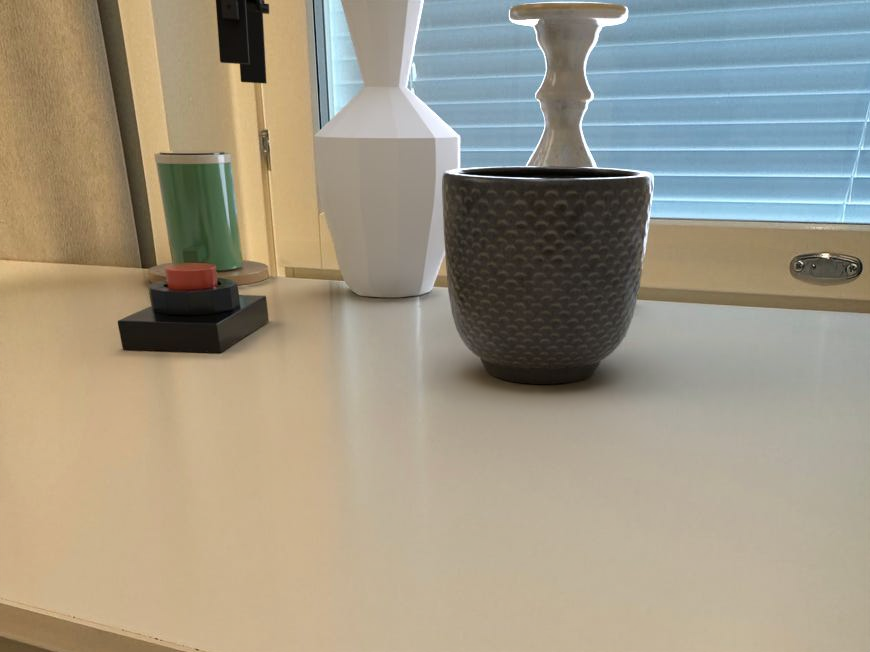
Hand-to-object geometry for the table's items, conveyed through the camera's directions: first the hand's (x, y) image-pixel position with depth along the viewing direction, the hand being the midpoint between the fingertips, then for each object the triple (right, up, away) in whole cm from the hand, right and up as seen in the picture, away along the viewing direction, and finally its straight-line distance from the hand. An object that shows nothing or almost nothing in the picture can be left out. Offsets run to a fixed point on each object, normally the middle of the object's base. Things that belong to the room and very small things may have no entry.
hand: (245, 73), depth 92 cm
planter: (+29, -39, -27) cm, 56 cm away
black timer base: (+1, -33, -18) cm, 38 cm away
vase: (+15, -22, +1) cm, 27 cm away
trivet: (-6, -18, +7) cm, 20 cm away
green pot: (-6, -18, +5) cm, 20 cm away
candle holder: (+32, -26, -4) cm, 41 cm away
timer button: (+1, -30, -20) cm, 36 cm away
